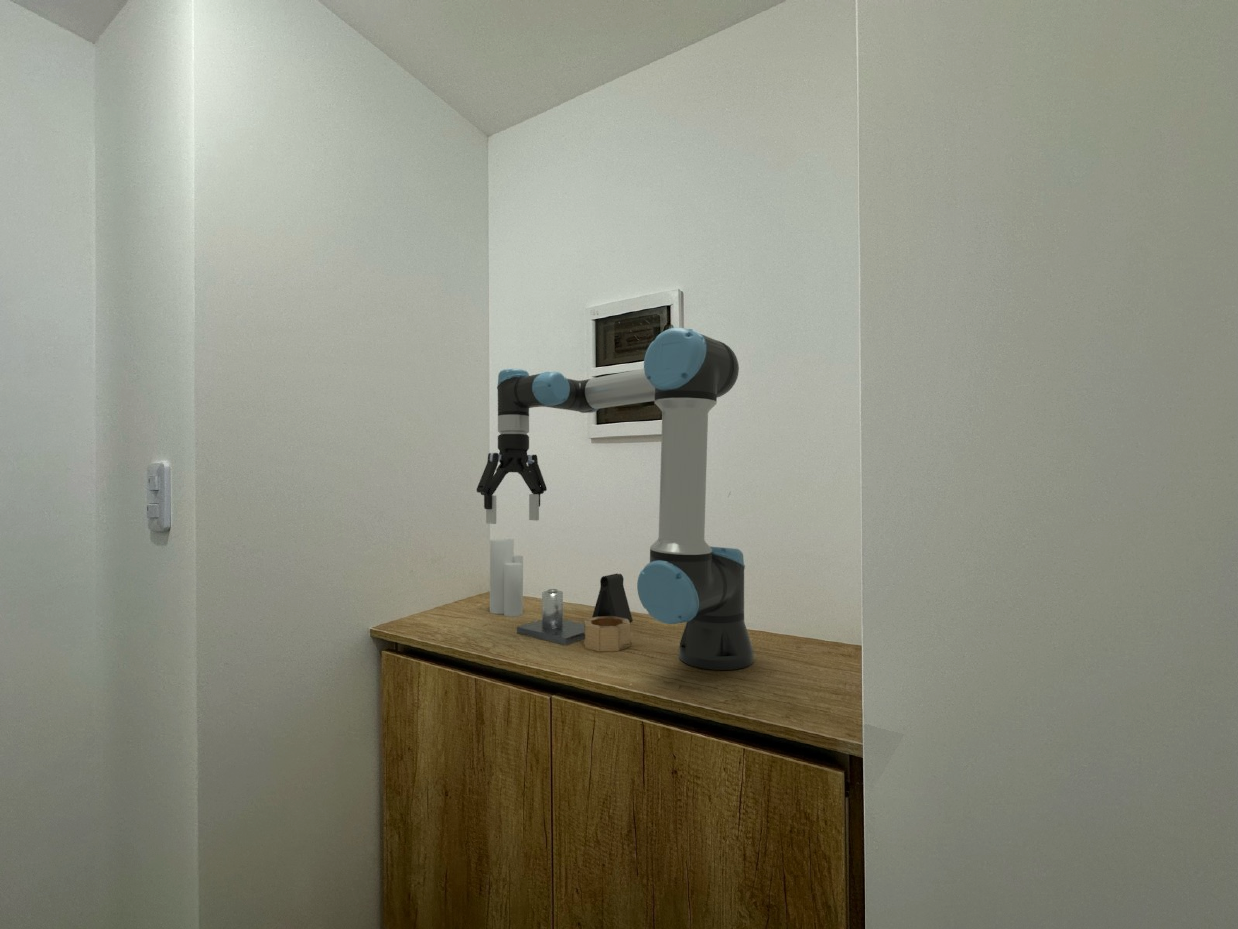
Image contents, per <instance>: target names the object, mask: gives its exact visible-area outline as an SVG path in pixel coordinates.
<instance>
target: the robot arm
mask: <svg viewBox="0 0 1238 929" xmlns="http://www.w3.org/2000/svg"><path fill="white" fill-rule="evenodd" d="M739 373H740V367H739V361H738V358H737V355H736V354H735V352H734V350H733V349H732V348H731V347H730V346H729V345H727V344H726V343H724V342H722V341H720V340H717V339H714V338H712V337H709V336H706V335H704V334H702V333H701V332H699V331H697V330H694V329H690V328H689V329H688V328H686V327H685V328H684V327H681V326H679V327H678V326H677V327H676V326H675V327H671V328H668V329H666V330H664V331H662V332H661V333H659V334H658V335H657V336H656V337H655V338H654V340H653V341H651V343H650V344H649V346H648V347H647V349H646V352H645V356H644V359H643V368H639V369H635V370H634V369H633V370H629V371H625V372H618V373H614V374H607V375H603V376H598V377H593V378H587V379H583V380H576V379H572V378H567V377H566V376H565V375H564V374H562V373H561V372H560V371H543V372H541V373H536V374H531V375H530V373H529V372H528V371H527V370H524V369H522V368H520V369H519V368H506V369H502V370H500V371H499V372H498V376H497V377H498V378H497V387H496V389H497V433H499V434H498V435H497V449H498V450H499V453H498V452H488V454H487V462H486V465H485V466H484V470H483V472H482V475H481V477H480V480H479V483H478V484H477V488H476V493H480V495H482V496H483V508H484V510H485V515H486V516H485V522H486V523H485V524H490V525H497V495H495V493H496V491H497V489H498V488H499V486H500V485H501V483H502V482H503V480H504V478H505V476H507V474H509V473H517V474H518V475H520V476H521V478H522V480H523V481H524V482H525V484H526V486H527V487H528V489H529V491H530V492H531V493H529V494H528V520H529V521H539V520H540V507H541V495H543V494H544V492H546V491H547V489H548V488H547V484H546V483H545V480H544V476H543V473H542V471H541V468H540V465H539V462H538V456H537V454H528V451H529V450H530V436H529V435H528V433H530V409H531V408H541V407H542V408H550V409H551V408H552V409H556V410H557V409H559V410H566V411H574V412H580V413H582V414H584V413H585V414H587V413H588V414H589V413H590V414H591V413H596V412H597V411H599V409H604V408H605V409H606V408H612V407H619V406H626V405H633V404H640V403H641V404H642V403H648V402H654V404H655V405H656V406H657V407H658V409H660V411H661V436H660V437H661V440H660V442H661V446H660V471H659V472H660V475H659V477H660V479H659V480H660V481H659V509H658V510H659V512H658V514H659V516H658V537H657V539H656V540H655V541H654V542H653V543H652V544H651V545H650V547H649V563H647V564H646V565H645V566H644V567H643V569H641V570H640V573H639V575H638V577H637V585H636V587H637V588H636V589H637V595H638V599H639V601H640V603H641V604H642V607H643V609H645V610H646V612H647V614H648V615H650V617H651V618H653V619H654V620H656V621H658V622H660V623H662V624H666V625H677V624H684V623H685V626H684V628H683V632H682V636H681V638H680V641H679V644H678V657H679V660H680V661H682V662H683V663H684V664H687V665H689V666H692V667H694V668H700V669H704V670H705V669H706V670H712V671H713V670H715V671H732V670H739V669H743V668H746V667H749V666H750V665H752V664H753V663H754V647H753V644H752V642H751V639H750V636H749V632H748V629H747V626H746V624H745V622H746V621H745V569H746V565H745V562H744V554H743V551H742V550H740V549H739V548H733V547H720V546H719V547H718V546H710V545H709V544H708V543H707V542H706V541H705V540H706V539H705V528H706V493H707V492H706V491H707V489H706V488H707V462H708V460H707V459H708V458H707V457H708V426H709V425H708V424H709V423H708V422H709V412H710V411H711V410H712V409H713V408H714V407H715V406H716V405H717V402H718V401H717V400H718V398H721V397H722V396H724V395H726V394H727V393H729V392H730V391H731V389H733V388H734V386H735V384H736V382H737V380H738V377H739ZM498 464H499V465H498Z"/></svg>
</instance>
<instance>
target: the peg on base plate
mask: <svg viewBox="0 0 1238 929" xmlns="http://www.w3.org/2000/svg"><path fill="white" fill-rule="evenodd" d="M541 597H542V598H541V619H540V620H536V621H533V622H530V623H526V624H523V625H519V626H516V634H519V635H522V636H527V637H530V638H531V637H532V638H535V639H540V640H544V641H548V642H552V643H555V644H560V645H564V646H567V645H570V644H573V643H575V642H579V641H583V640H584V622H583V623H582V622H577V621H572V620H569V619H564V591H562V590H559V589H556V588H548V589H547V590H545V591H542V592H541Z"/></svg>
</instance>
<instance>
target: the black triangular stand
mask: <svg viewBox="0 0 1238 929" xmlns="http://www.w3.org/2000/svg"><path fill="white" fill-rule="evenodd" d="M599 583H600V588H599V592H598V595H597V599H596V601H595V602H596V603H595V605H594V610H593V614H592V616H591V618H594V617H605V616H615V617H620V618H625V619H628V620H629V622H630V623H631V622H633V617H632V613H631V609H630V605H629V601H628V598H627V596H626V591H625V588H624V576H623V575H622V574H621V573H613V574H607V575H604V576H601V578H600V579H599Z"/></svg>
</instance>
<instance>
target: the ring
mask: <svg viewBox="0 0 1238 929" xmlns="http://www.w3.org/2000/svg"><path fill="white" fill-rule="evenodd" d="M583 624H584V639H583V644H584V648H585V649H587V650H591V651H596V652H600V653H601V652H619V651H623V650H624V649H627V648H629V647H631V622H629V620H628V619H625V618H620V617H615V616H605V617H594V618H592V617H590V618H587V619H584V620H583Z"/></svg>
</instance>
